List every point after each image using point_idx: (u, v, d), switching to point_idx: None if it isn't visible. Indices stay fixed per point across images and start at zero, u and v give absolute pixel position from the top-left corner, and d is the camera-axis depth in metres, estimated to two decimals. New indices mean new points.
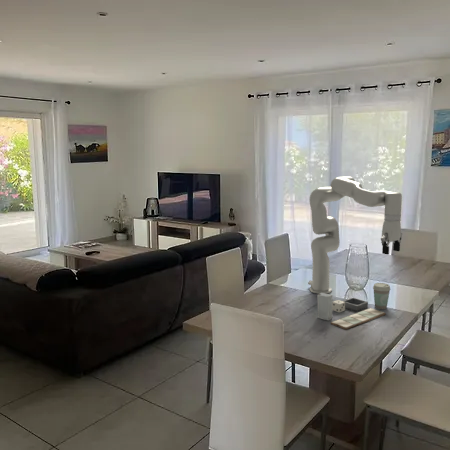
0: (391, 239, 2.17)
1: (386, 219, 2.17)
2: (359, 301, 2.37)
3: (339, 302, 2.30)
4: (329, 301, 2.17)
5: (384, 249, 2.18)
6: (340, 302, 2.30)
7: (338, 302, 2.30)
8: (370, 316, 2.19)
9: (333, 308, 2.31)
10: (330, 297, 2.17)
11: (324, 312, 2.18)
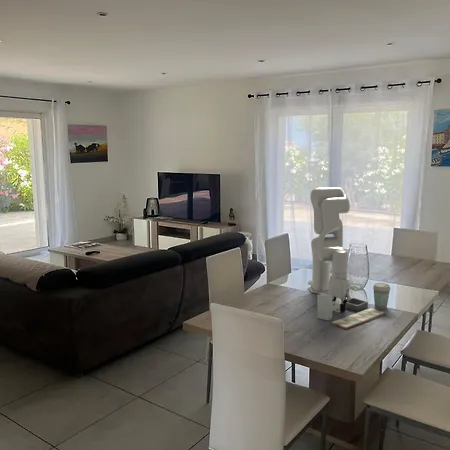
0: None
1: (343, 277, 2.25)
2: (359, 301, 2.37)
3: (339, 302, 2.30)
4: (329, 301, 2.17)
5: (344, 306, 2.28)
6: (340, 302, 2.30)
7: (338, 302, 2.30)
8: (370, 316, 2.19)
9: (333, 308, 2.31)
10: (330, 297, 2.17)
11: (324, 312, 2.18)
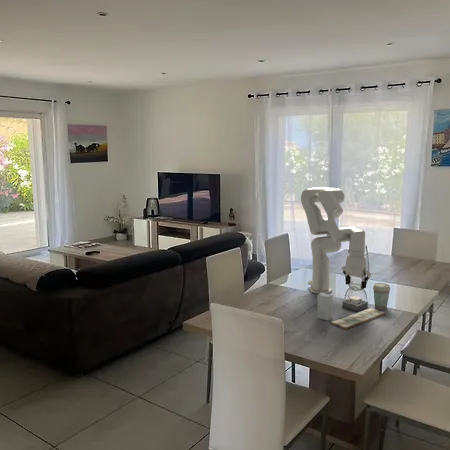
0: None
1: (361, 256, 2.27)
2: None
3: (356, 298, 2.34)
4: (329, 301, 2.17)
5: (365, 284, 2.28)
6: (357, 298, 2.33)
7: (355, 298, 2.33)
8: (370, 316, 2.19)
9: None
10: (330, 297, 2.17)
11: (324, 312, 2.18)
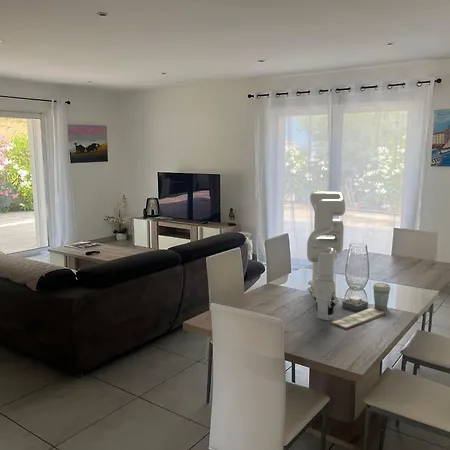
0: None
1: (329, 279, 2.14)
2: None
3: (356, 298, 2.34)
4: None
5: (332, 310, 2.16)
6: (357, 298, 2.33)
7: (355, 298, 2.33)
8: (370, 316, 2.19)
9: None
10: None
11: (324, 311, 2.18)
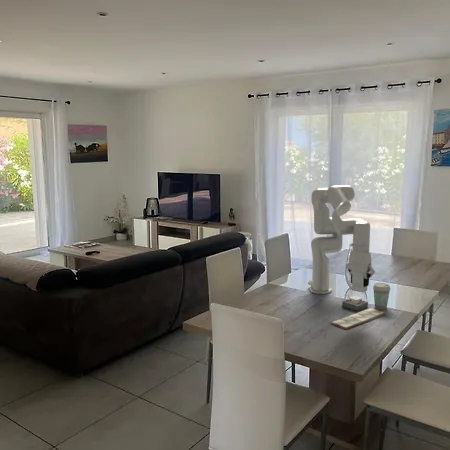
0: None
1: (365, 250, 2.10)
2: None
3: (356, 298, 2.34)
4: None
5: (367, 281, 2.12)
6: (357, 298, 2.33)
7: (355, 298, 2.33)
8: (370, 316, 2.19)
9: None
10: None
11: (359, 283, 2.14)
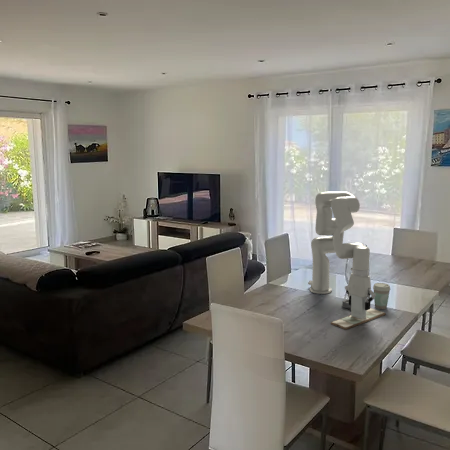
0: None
1: (365, 275, 2.12)
2: None
3: None
4: (363, 299, 2.15)
5: (369, 305, 2.13)
6: None
7: None
8: (370, 316, 2.19)
9: None
10: None
11: (358, 310, 2.16)
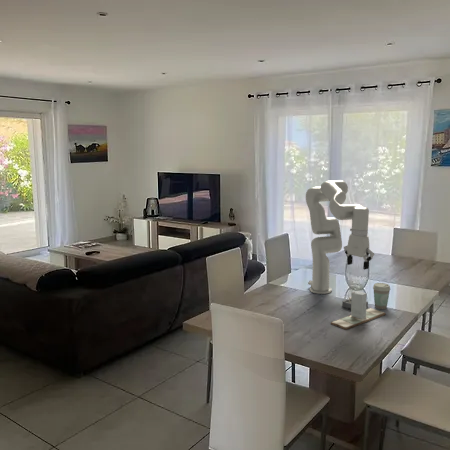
0: None
1: (364, 235, 2.16)
2: None
3: None
4: (363, 299, 2.15)
5: (367, 264, 2.17)
6: None
7: None
8: (370, 316, 2.19)
9: None
10: (364, 295, 2.15)
11: (358, 310, 2.16)
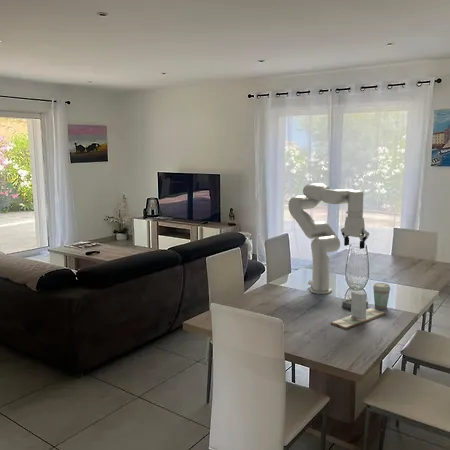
0: None
1: (359, 216, 2.31)
2: None
3: None
4: (363, 299, 2.15)
5: (363, 244, 2.32)
6: None
7: None
8: (370, 316, 2.19)
9: None
10: (364, 295, 2.15)
11: (358, 310, 2.16)
